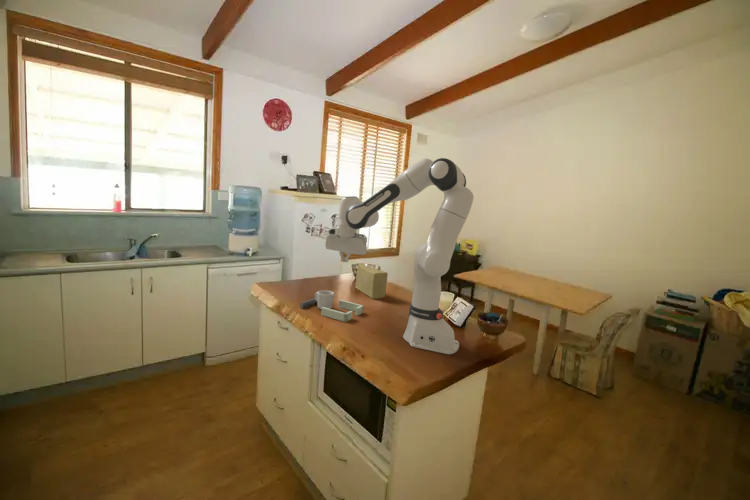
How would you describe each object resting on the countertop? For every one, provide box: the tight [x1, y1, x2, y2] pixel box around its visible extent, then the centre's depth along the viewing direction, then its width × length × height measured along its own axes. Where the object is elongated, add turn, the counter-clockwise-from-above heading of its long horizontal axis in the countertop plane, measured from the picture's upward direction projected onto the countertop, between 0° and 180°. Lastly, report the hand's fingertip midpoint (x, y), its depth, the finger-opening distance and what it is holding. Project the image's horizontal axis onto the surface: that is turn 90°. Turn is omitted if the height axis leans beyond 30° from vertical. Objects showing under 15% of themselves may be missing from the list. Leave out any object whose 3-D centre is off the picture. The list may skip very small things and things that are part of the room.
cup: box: [314, 289, 335, 310], centre depth 167 cm, size 11×8×8 cm
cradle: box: [320, 299, 365, 323], centre depth 162 cm, size 13×16×4 cm
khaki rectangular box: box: [354, 264, 389, 300], centre depth 200 cm, size 22×10×15 cm, turn 39°
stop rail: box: [300, 297, 318, 310], centre depth 169 cm, size 2×14×2 cm, turn 154°
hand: (344, 261), depth 161 cm, fingers closed
